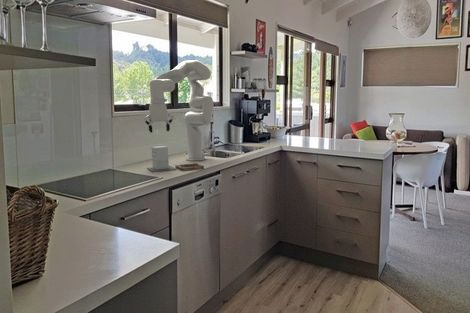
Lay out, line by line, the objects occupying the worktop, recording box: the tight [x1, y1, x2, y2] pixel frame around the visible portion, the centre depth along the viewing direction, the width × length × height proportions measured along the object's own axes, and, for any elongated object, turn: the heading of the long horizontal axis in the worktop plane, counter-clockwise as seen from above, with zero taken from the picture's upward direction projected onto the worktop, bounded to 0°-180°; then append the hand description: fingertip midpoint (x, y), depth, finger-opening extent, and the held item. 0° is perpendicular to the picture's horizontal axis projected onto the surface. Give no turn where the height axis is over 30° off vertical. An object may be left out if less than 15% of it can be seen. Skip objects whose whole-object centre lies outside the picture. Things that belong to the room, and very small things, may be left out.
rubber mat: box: [146, 165, 178, 173], centre depth 235 cm, size 14×14×1 cm
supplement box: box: [151, 145, 170, 170], centre depth 235 cm, size 7×7×13 cm
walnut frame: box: [174, 162, 205, 172], centre depth 236 cm, size 13×13×2 cm
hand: (159, 131), depth 233 cm, fingers open, 9 cm apart
